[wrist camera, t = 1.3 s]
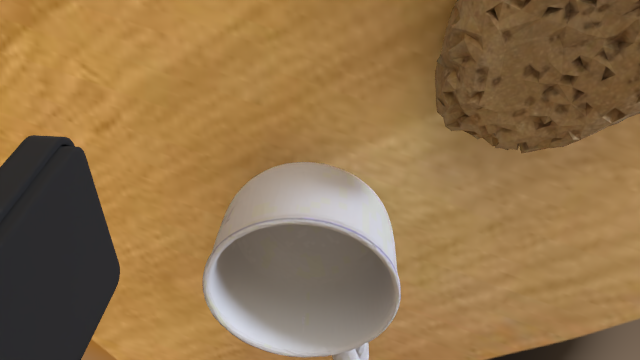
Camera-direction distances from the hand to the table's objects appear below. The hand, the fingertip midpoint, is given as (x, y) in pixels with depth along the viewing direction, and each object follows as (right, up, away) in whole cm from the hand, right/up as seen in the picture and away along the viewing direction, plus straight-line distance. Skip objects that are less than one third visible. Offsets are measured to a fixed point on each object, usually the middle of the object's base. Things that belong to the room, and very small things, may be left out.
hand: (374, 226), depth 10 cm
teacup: (-1, -2, +30) cm, 30 cm away
